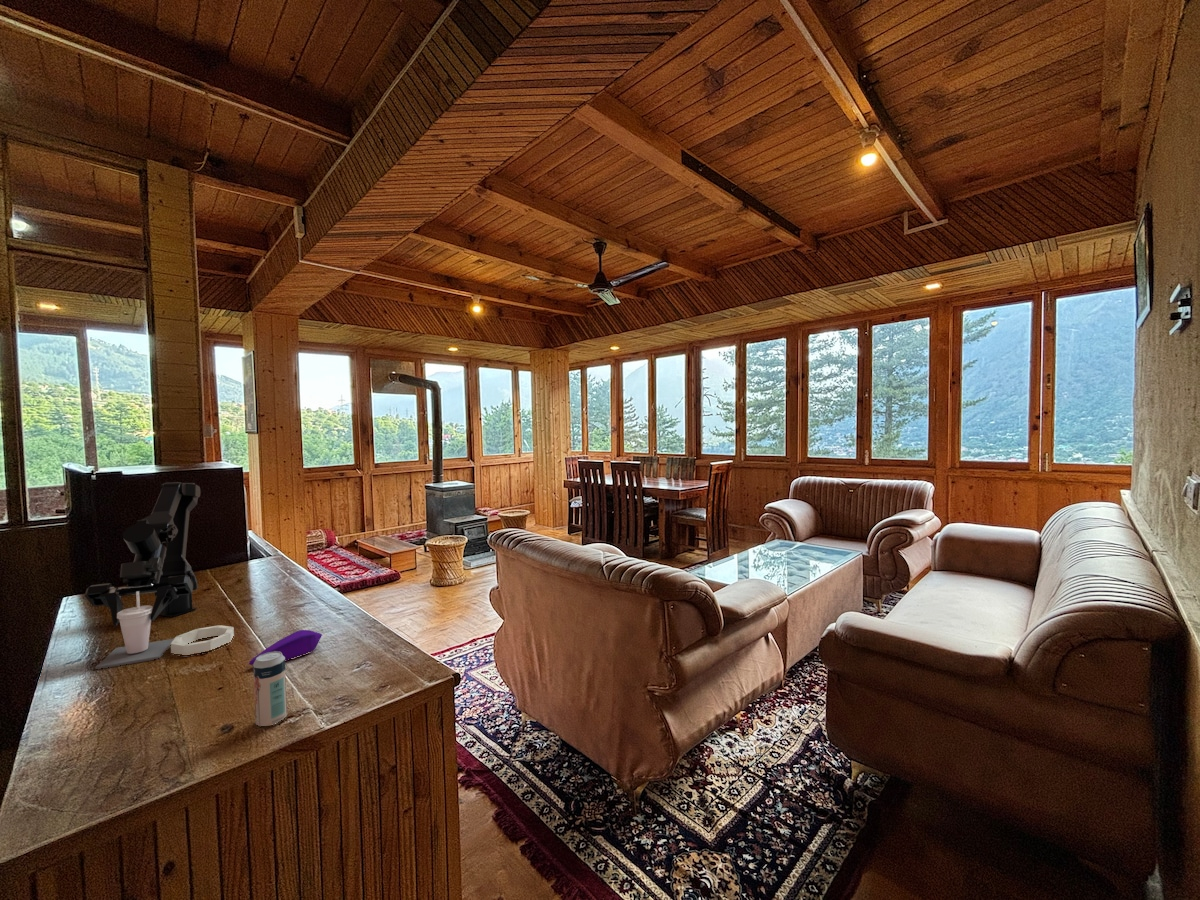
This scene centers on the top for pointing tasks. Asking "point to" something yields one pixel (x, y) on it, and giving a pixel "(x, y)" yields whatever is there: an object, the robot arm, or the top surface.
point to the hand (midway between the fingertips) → (133, 622)
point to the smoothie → (136, 626)
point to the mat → (135, 655)
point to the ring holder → (184, 648)
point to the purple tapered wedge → (294, 644)
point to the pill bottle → (270, 688)
